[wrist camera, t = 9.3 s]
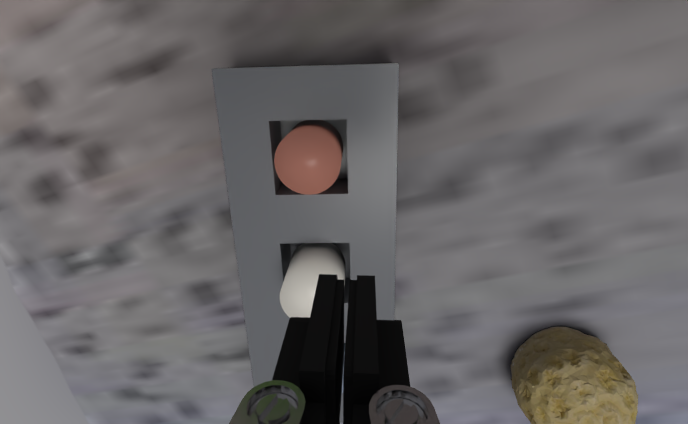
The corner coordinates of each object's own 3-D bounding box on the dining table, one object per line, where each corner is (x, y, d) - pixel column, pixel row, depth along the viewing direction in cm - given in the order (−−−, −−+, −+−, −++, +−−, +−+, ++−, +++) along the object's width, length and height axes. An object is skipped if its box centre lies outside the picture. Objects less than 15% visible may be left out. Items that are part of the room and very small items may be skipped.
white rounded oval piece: (288, 240, 32) (276, 270, 27) (344, 239, 32) (342, 270, 27) (292, 289, 33) (282, 326, 29) (346, 288, 33) (344, 325, 28)
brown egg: (284, 119, 31) (271, 129, 26) (342, 118, 31) (339, 128, 26) (288, 175, 32) (277, 195, 28) (344, 174, 32) (341, 194, 27)
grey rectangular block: (233, 67, 31) (211, 68, 26) (392, 63, 30) (398, 63, 26) (269, 381, 41) (258, 422, 36) (388, 381, 41) (392, 422, 36)
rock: (495, 373, 44) (547, 477, 38) (489, 337, 36) (555, 462, 30) (580, 341, 44) (648, 442, 37) (594, 296, 35) (686, 416, 29)
